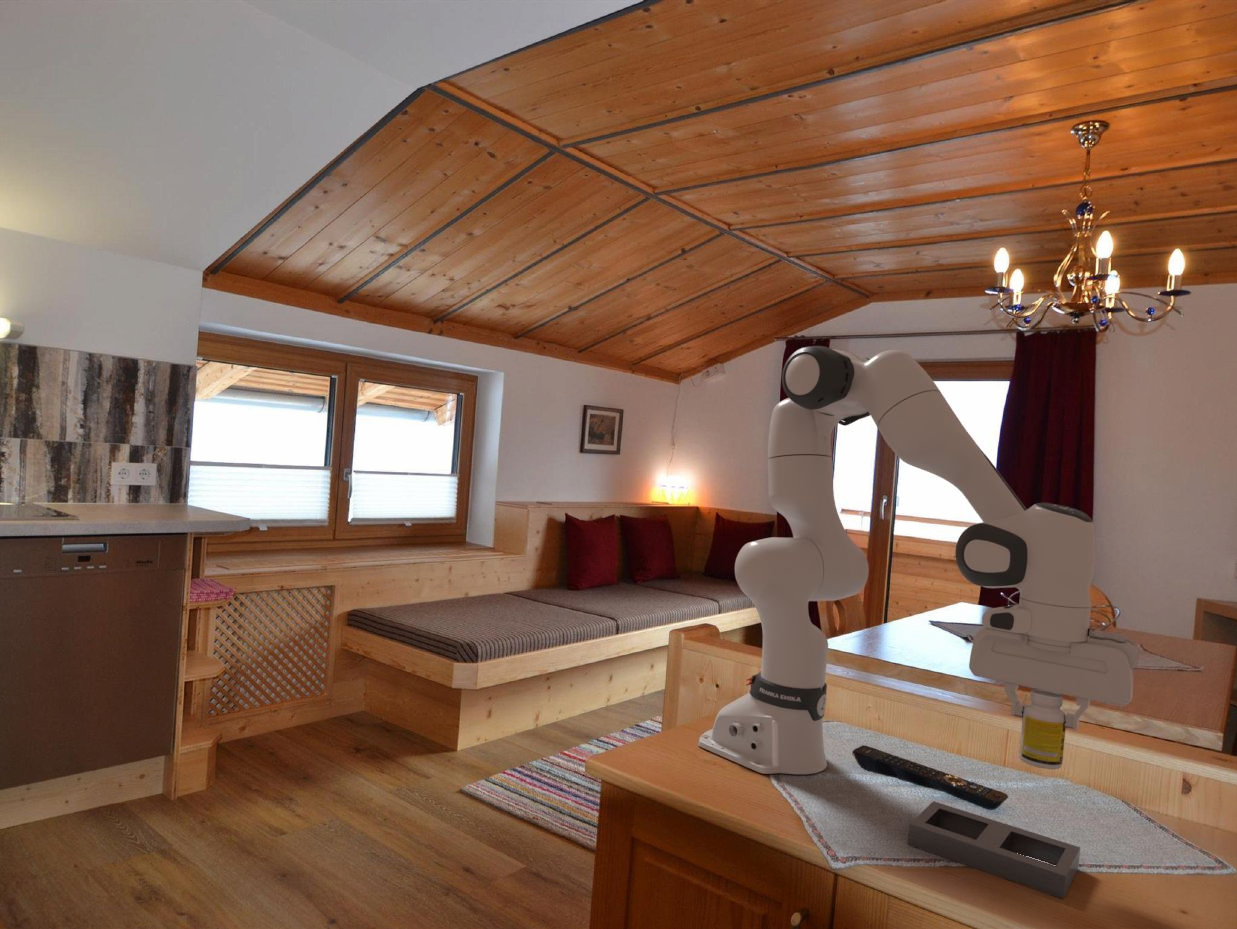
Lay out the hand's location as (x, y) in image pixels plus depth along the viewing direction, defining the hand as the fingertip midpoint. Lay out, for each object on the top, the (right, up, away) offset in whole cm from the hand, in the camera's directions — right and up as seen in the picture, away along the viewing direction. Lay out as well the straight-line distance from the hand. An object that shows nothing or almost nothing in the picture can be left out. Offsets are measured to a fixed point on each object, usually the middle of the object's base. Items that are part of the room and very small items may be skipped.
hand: (1044, 722), depth 121 cm
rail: (-7, -19, +2) cm, 20 cm away
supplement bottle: (0, -6, 0) cm, 6 cm away
